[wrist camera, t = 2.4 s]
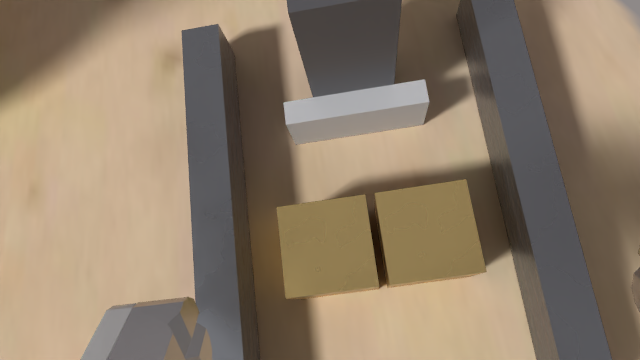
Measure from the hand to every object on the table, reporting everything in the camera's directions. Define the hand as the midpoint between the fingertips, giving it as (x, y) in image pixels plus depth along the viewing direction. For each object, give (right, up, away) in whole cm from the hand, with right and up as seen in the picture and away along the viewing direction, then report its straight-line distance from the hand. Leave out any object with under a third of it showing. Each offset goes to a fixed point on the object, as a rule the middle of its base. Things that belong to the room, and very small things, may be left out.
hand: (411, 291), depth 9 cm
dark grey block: (0, +8, +18) cm, 19 cm away
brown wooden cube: (-1, -2, +16) cm, 16 cm away
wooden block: (+3, -1, +15) cm, 16 cm away
